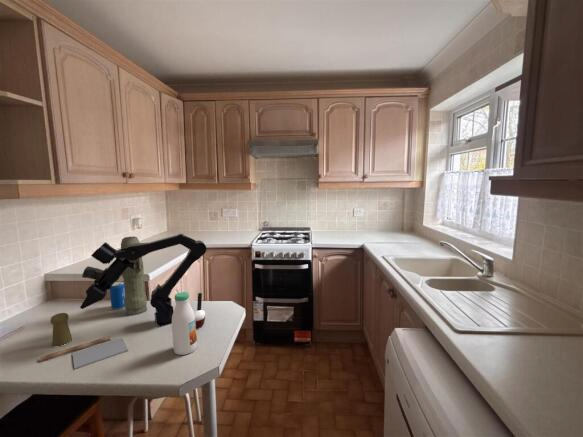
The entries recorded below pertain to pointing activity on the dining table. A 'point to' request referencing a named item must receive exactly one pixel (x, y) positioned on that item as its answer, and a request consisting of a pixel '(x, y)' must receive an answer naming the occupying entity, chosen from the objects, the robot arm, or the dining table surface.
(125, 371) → the dining table surface
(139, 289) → the thermos
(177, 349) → the milk bottle
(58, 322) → the cork
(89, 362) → the mat
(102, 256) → the robot arm
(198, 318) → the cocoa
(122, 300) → the beverage can
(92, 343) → the walnut line
